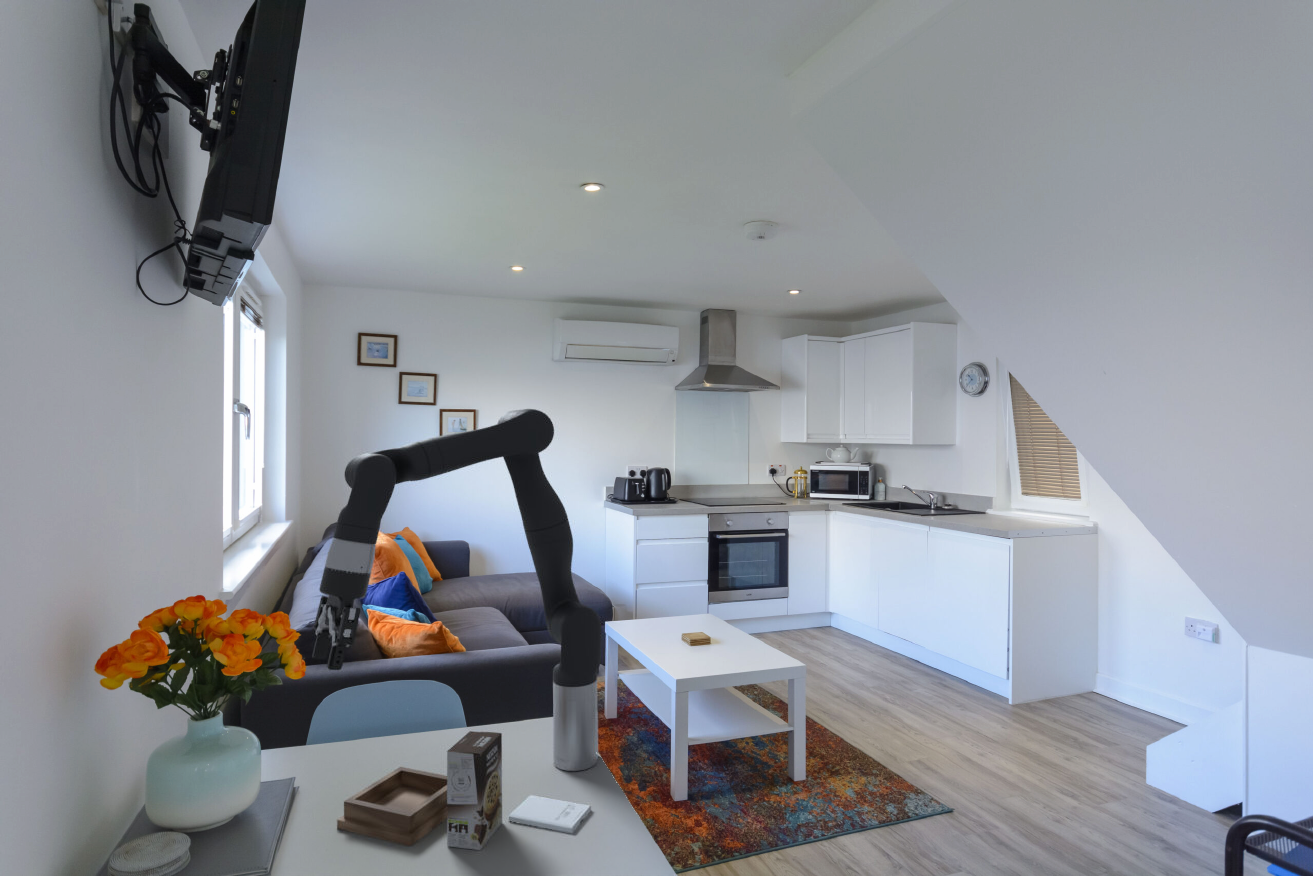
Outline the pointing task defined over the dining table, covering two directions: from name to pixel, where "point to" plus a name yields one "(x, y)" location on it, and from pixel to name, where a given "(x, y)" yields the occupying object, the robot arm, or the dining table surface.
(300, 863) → the dining table surface
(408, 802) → the wooden tray
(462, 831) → the coffee box
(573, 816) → the external hard drive
